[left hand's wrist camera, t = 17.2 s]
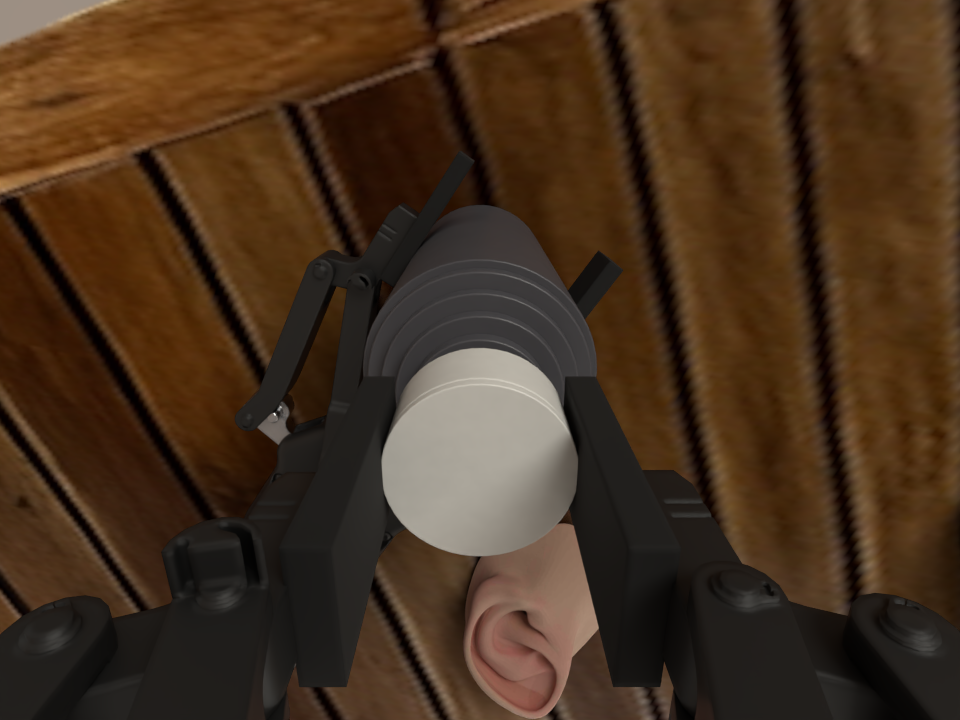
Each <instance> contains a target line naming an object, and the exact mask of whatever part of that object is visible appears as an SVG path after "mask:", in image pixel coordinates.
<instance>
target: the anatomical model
mask: <svg viewBox="0 0 960 720" xmlns="http://www.w3.org/2000/svg"><path fill="white" fill-rule="evenodd" d="M465 622H466V625H465V630H464V636H463V652H464V658H465V662H466V664H467V667H468V669H469V671H470V673H471V675H472V677H473V678H474V680H475V681H476V683H477V684H478V685H479V687H480V688H481V689H482V690H483V691H484V692H485V693H486V694H487V695H488V696H489V697H490V698H491V699H492V700H494V701H495V702H496V703H498V704H499V705H501V706H502V707H504V708H505V709H507V710H509V711H511V712H512V713H515V714H517V715H519V716H522V717H525V718H530V719H537V718H540V717H543V716H545V715H546V714H548V713H549V712H550V711H551V710H552V708H553V707H554V706H555V704H556V703H557V701H558V699H559V698H560V696H561V693H562V691H563V689H564V686H565V684H566V681H567V678H568V674H569V670H570V665H571V660H572V657H573V656H574V655H575V654H576V653H577V652H578V650H579V649H580V648H581V647H582V646H583V645H584V644H585V643H586V642H587V641H588V640H589V639H590V638H591V636H592V635H593V634H594V633H595V632H596V631H597V630H598V628H599V627H598V623H597V619H596V615H595V611H594V607H593V603H592V599H591V594H590V590H589V586H588V582H587V578H586V574H585V570H584V566H583V562H582V558H581V554H580V550H579V546H578V542H577V538H576V534H575V529H574V526H573V525H570V524H557V525H556V526H555V527H554V528H553V529H552V530H550V531H549V532H548V533H547V534H546V535H544V536H543V537H541V538H540V539H538V540H537V541H535V542H534V543H532V544H529V545H527V546H525V547H523V548H521V549H518V550H515V551H512V552H508V553H504V554H499V555H491V556H482V557H481V558H480V560H479V561H478V563H477V565H476V568H475V571H474V573H473V576H472V580H471V583H470V586H469V590H468V594H467V600H466V606H465Z"/></svg>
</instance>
